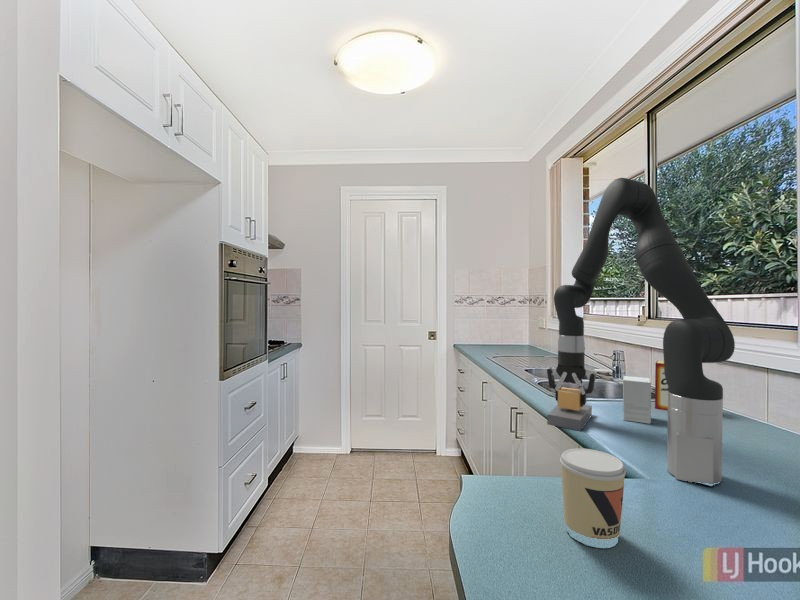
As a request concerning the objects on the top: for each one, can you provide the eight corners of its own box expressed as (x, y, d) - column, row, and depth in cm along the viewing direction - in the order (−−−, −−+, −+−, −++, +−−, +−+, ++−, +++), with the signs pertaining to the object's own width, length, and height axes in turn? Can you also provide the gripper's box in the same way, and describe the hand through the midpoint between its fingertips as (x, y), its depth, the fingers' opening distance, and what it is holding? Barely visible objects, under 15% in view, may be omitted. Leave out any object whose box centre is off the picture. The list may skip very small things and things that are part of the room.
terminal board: (580, 430, 108) (580, 407, 108) (547, 424, 113) (547, 402, 113) (591, 414, 123) (591, 394, 123) (562, 409, 128) (562, 390, 128)
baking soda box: (655, 408, 130) (655, 361, 130) (656, 404, 135) (657, 359, 135) (689, 414, 124) (690, 365, 124) (690, 409, 129) (690, 362, 129)
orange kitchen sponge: (579, 410, 114) (579, 393, 114) (557, 407, 117) (557, 390, 117) (583, 406, 119) (583, 390, 119) (562, 402, 122) (562, 387, 122)
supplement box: (650, 418, 120) (651, 377, 120) (651, 424, 114) (651, 382, 114) (623, 414, 124) (623, 375, 124) (622, 420, 118) (622, 379, 118)
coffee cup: (595, 560, 55) (596, 477, 55) (546, 524, 64) (547, 452, 63) (638, 543, 59) (639, 465, 59) (587, 512, 67) (588, 444, 67)
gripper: (543, 349, 119) (543, 403, 119) (594, 353, 111) (594, 411, 111) (550, 346, 125) (549, 397, 125) (599, 350, 117) (598, 405, 117)
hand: (570, 403), depth 118 cm, fingers closed on orange kitchen sponge, 6 cm apart
